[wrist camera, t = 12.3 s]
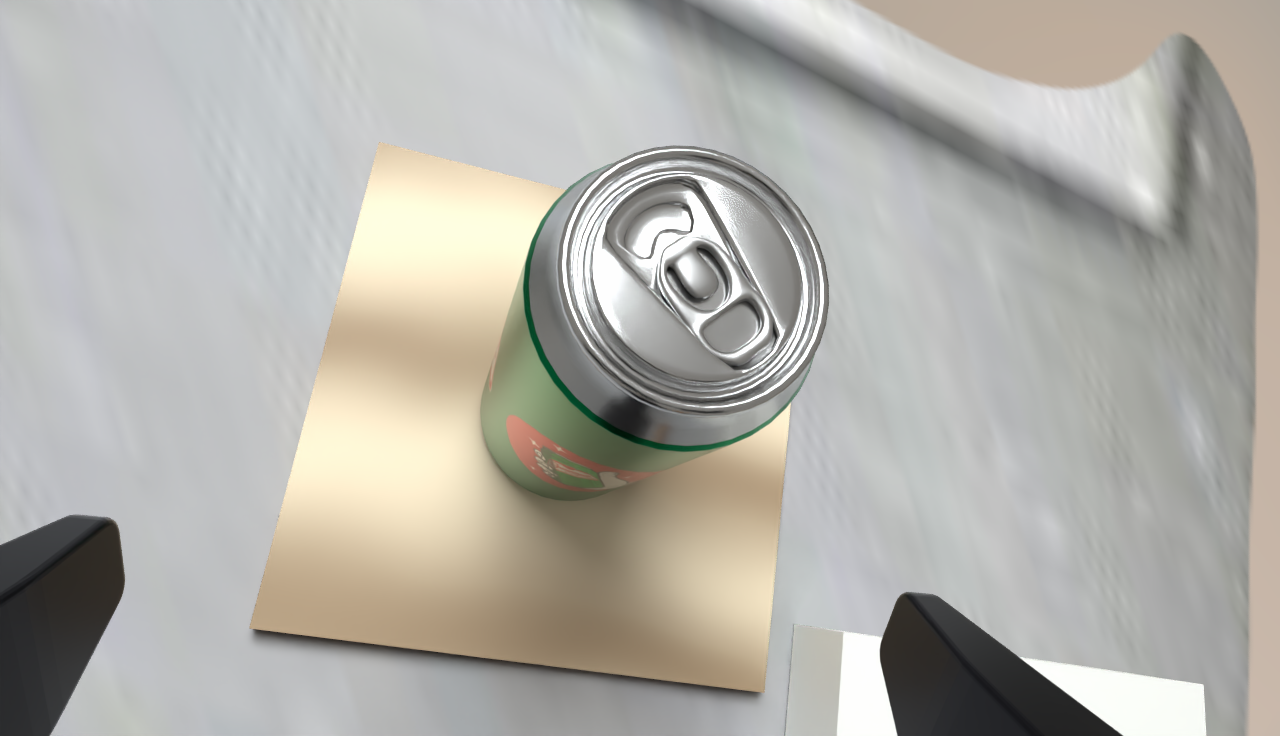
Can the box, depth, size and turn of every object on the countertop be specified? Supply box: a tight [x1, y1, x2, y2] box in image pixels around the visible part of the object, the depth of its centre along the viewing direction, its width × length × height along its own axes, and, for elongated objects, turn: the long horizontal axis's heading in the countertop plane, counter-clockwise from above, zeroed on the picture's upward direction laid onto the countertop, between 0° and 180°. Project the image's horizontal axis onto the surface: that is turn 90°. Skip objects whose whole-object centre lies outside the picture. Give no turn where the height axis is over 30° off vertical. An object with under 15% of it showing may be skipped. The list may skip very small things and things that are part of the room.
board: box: [250, 142, 791, 693], centre depth 23 cm, size 14×14×1 cm
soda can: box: [480, 146, 829, 501], centre depth 17 cm, size 5×5×12 cm
